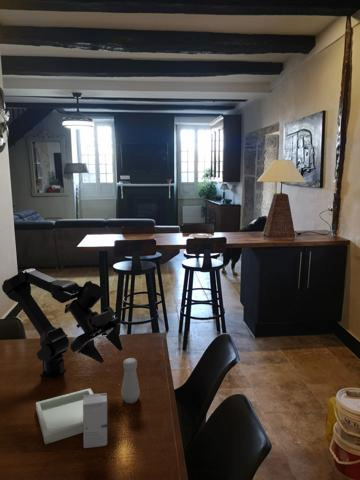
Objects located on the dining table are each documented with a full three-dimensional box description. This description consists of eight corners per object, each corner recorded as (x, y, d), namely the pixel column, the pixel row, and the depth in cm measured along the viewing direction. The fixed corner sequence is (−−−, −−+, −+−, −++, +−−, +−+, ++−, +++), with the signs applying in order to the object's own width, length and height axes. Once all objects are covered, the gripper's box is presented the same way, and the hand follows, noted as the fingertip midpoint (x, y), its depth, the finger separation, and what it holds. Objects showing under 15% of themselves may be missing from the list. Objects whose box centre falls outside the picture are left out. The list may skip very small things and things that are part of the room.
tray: (36, 410, 107) (35, 402, 107) (90, 395, 115) (90, 388, 114) (45, 444, 93) (44, 436, 93) (106, 424, 101) (105, 417, 100)
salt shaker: (136, 406, 109) (136, 365, 107) (118, 403, 110) (117, 363, 108) (142, 395, 115) (142, 356, 113) (125, 393, 116) (124, 354, 114)
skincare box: (83, 449, 92) (81, 405, 90) (83, 437, 96) (82, 394, 94) (108, 445, 93) (107, 401, 91) (107, 433, 97) (106, 391, 95)
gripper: (75, 310, 105) (107, 355, 102) (116, 293, 122) (144, 331, 118) (57, 331, 110) (86, 374, 107) (98, 312, 127) (125, 349, 123)
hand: (112, 356), depth 114 cm, fingers open, 9 cm apart
